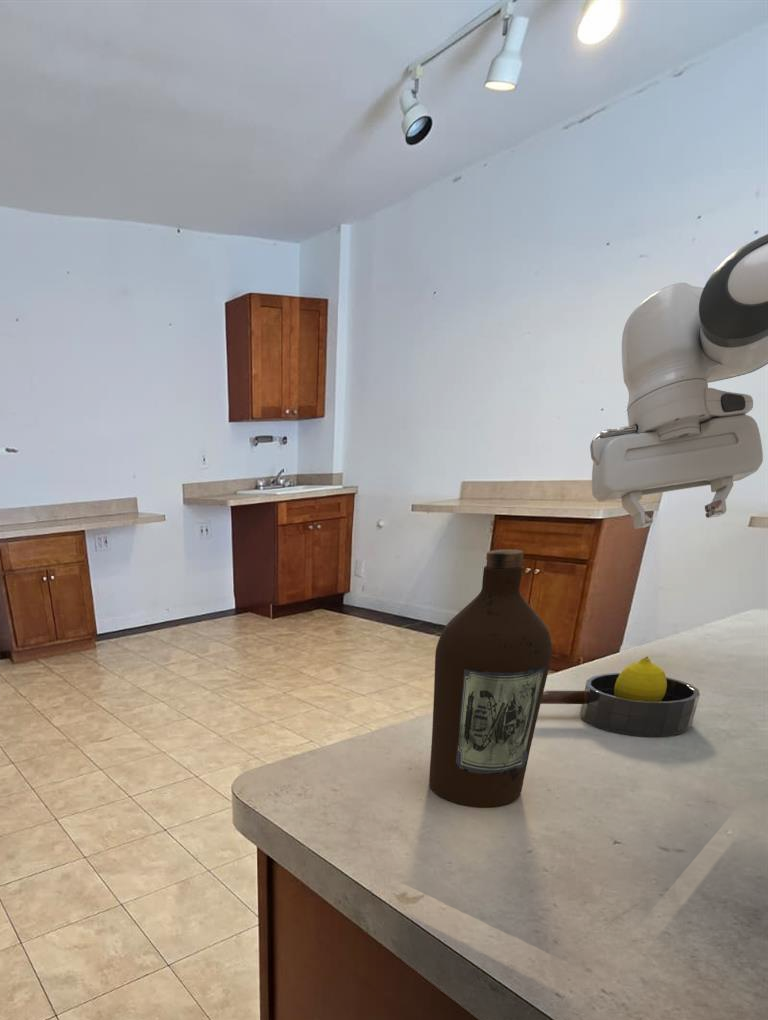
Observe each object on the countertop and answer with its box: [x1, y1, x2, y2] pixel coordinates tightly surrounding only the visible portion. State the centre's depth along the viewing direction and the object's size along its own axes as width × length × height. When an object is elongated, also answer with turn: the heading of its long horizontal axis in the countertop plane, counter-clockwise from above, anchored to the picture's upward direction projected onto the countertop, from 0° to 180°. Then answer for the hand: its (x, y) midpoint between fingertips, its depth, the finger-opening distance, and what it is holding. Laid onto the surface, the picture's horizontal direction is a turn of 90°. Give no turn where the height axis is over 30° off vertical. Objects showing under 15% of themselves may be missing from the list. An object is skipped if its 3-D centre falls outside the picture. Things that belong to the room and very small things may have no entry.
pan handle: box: [540, 689, 588, 705], centre depth 86 cm, size 11×2×2 cm, turn 77°
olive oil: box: [428, 548, 553, 808], centre depth 65 cm, size 11×11×25 cm
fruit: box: [614, 656, 667, 701], centre depth 82 cm, size 6×6×8 cm
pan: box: [579, 672, 701, 738], centre depth 83 cm, size 12×12×4 cm
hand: (679, 521), depth 87 cm, fingers open, 8 cm apart
